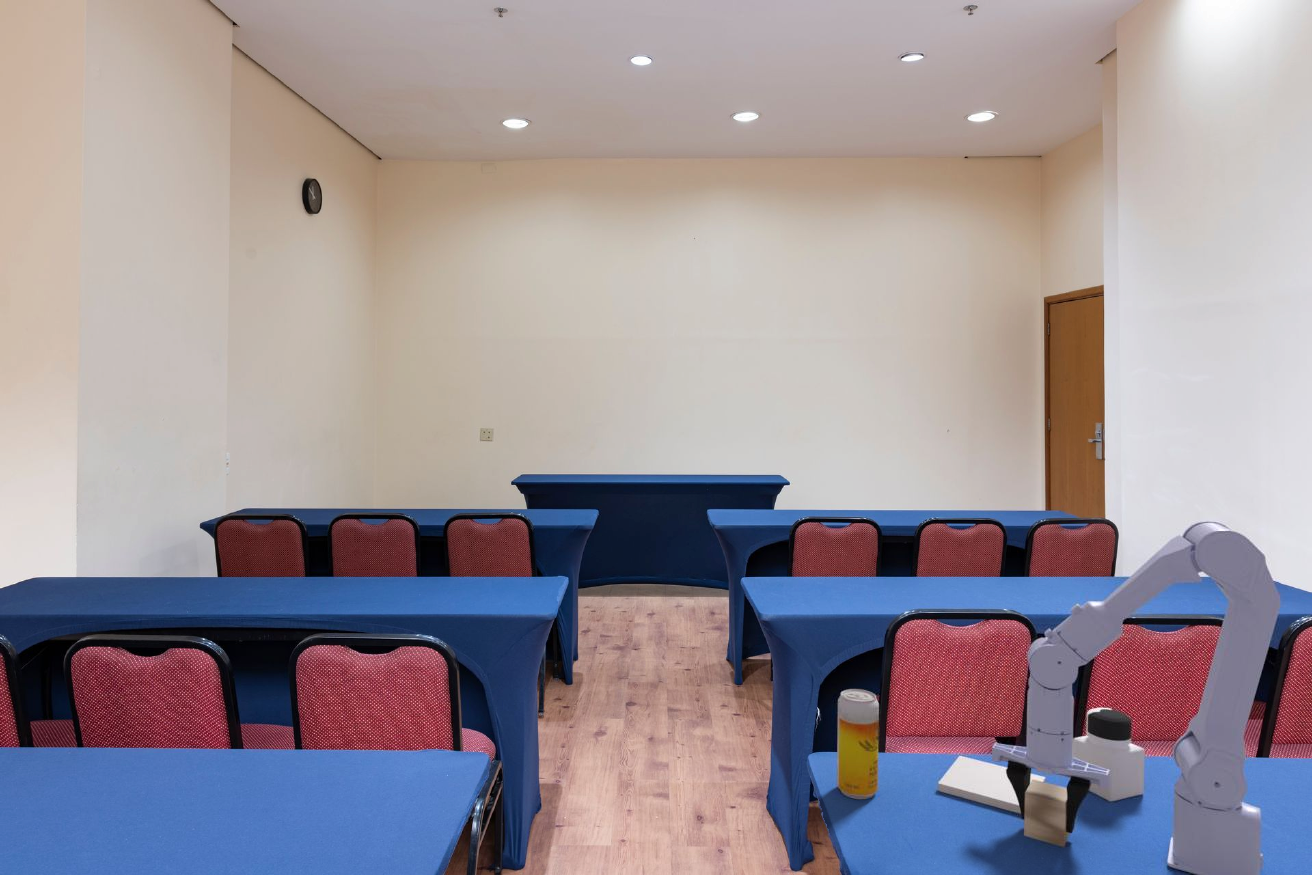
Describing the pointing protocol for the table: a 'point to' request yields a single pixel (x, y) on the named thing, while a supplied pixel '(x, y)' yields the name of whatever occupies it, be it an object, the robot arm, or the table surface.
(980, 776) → the white board
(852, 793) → the beer can
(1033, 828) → the maple block
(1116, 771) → the medicine bottle
